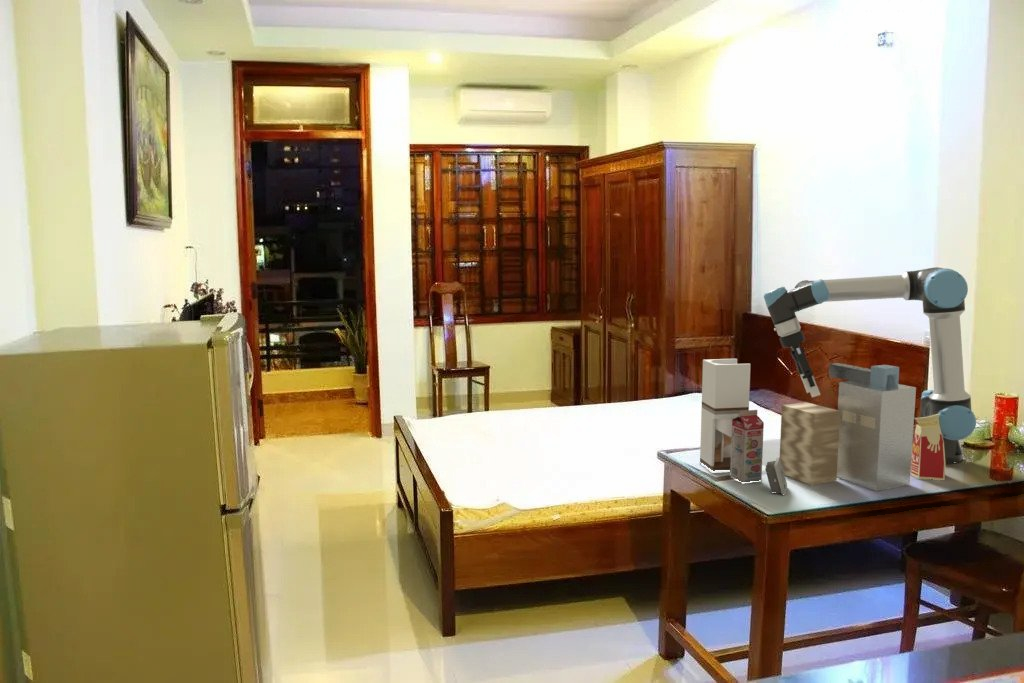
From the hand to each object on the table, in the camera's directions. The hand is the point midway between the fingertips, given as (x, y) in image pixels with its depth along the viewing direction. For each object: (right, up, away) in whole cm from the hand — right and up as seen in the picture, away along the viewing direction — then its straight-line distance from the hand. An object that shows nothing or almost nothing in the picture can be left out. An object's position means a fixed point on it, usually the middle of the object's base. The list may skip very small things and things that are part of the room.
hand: (813, 393), depth 264 cm
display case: (-31, -24, -3) cm, 39 cm away
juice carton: (-27, -26, -15) cm, 40 cm away
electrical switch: (-21, -27, -26) cm, 43 cm away
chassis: (+12, -26, -16) cm, 32 cm away
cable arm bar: (+9, +5, -15) cm, 18 cm away
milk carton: (+31, -25, -12) cm, 41 cm away
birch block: (-7, -25, -12) cm, 29 cm away
